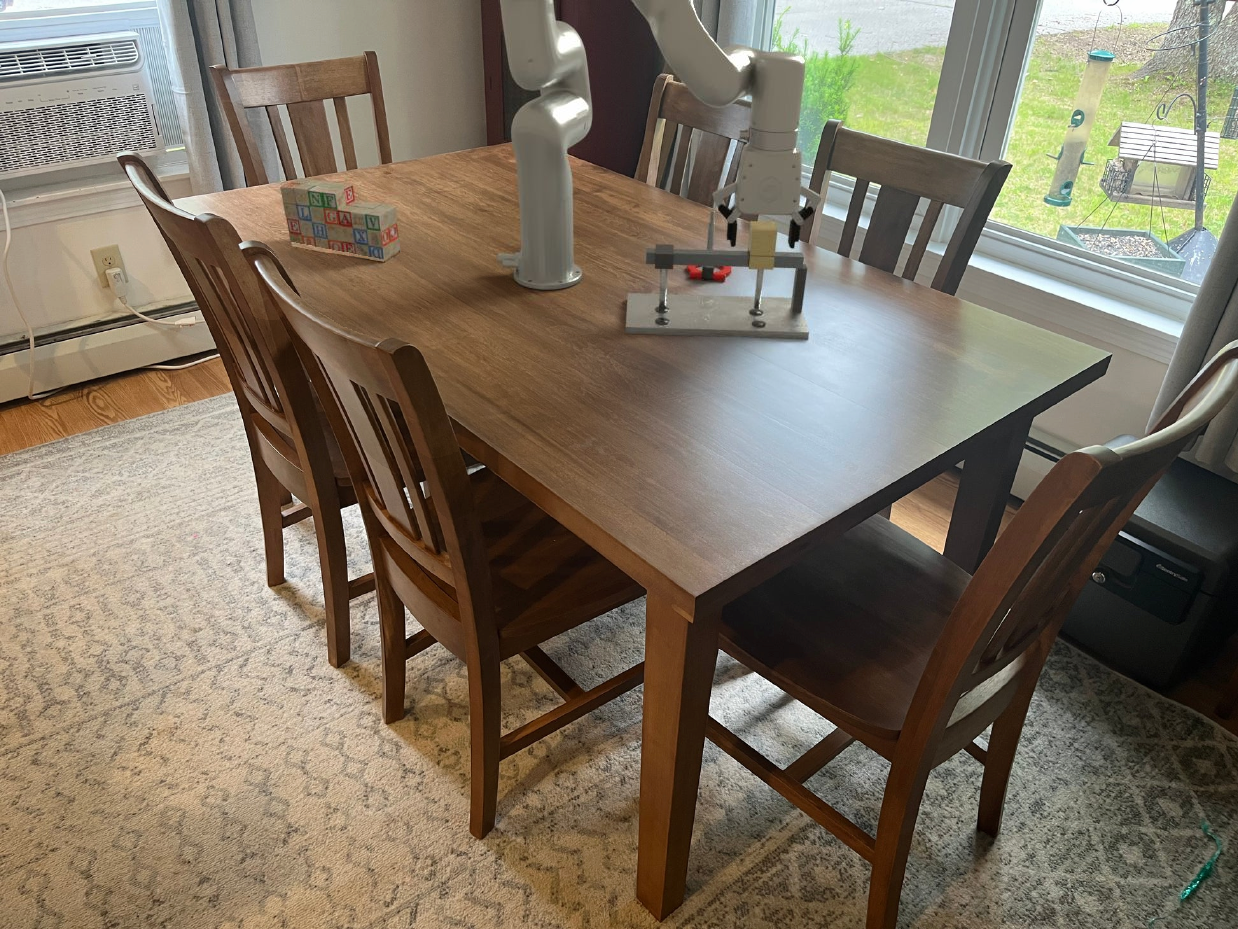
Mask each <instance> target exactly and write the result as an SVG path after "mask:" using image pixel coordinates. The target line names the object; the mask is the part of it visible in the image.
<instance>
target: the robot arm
mask: <svg viewBox="0 0 1238 929" xmlns="http://www.w3.org/2000/svg"><path fill="white" fill-rule="evenodd" d="M630 1H631V2H632V3H633V4H634V6H635V7H636V8H637V10H639V12H640V14H642V15H643V17H644V18H645V20H646V21H647V22H648V24H649V26H650V30H651V32H652V36H653V37H654V39H655V42H656V43H657V46H658V47H659V50H660V52H661V54H662V56H663V58H664V60H665V62H666V63H667V64H668V66H669V67H670V69H671V70H672V71H673V72H674V74H675V75H676V76H677V77H678V79H679V80H680V81H681V82H682V83H683V85H685V87H686V88H687V89H688V90H689V92H690V93H691V94H693V96H694V97H695V98H696V99H697V100H699V101H700V102H702V103H703V104H704V105H706V106H708V107H711V108H717V109H719V108H720V109H721V108H726V107H728V106H730V105H732V104H733V103H735V102H736V101H738V100H739V99H742V98H744V97H745V98H746V97H748V96H750V97H751V103H750V104H751V105H750V114H749V117H750V118H749V124H748V127H747V128H746V129H744V130H742V129H741V130H739V132H738V133H739V134H738V138H739V140H743V141H746V143H747V144H744V145H743V147H742V151H741V155H740V159H739V164H738V168H737V175H736V181H734V182H733V183H730V184H728V185H725V186H724V187H722V188H719V189H717V190H715V191H714V192H712V198H713V201H714V203H715V205H716V208H717V209H718V213H720V214H721V215H722V216H723V217H724V219H725V220H726V221H727V224H726V225H727V227H726V228H727V229H726V230H727V231H726V240H727V241H729V243H730V247H731V248H735V247H736V246H737V234H738V221H737V219H738V218H739V217H740V216H741V215H742V214H745V215H759V216H760V215H763V216H772V215H773V216H790V217H791V219H790V222H789V228H788V238H787V243H788V247H789V248H790V249H795V247H796V246H795V245H796V243H799V241H800V233H801V226H802V225H803V224H804V221H806V220H807V219H808V218H810V216H812V215H813V214H814V212H815V210H816V209H817V207H818V206H819V204H820V203H821V201H822V197H821V195H820V194H819V193H818V192H815V191H814V190H812V189H810V188H809V187H807V186H805V185H803V184H802V176H803V175H802V173H803V158H802V157H803V156H802V150H801V148H800V147H799V146H797V144H798V136H799V134H798V133H799V126H800V119H801V118H800V117H801V109H802V100H803V92H804V83H805V76H806V75H805V74H806V61H805V59H804V57H803V56H802V55H801V54H797V53H796V52H790V51H779V50H777V51H776V50H775V51H766V50H762V49H758V48H754V47H751V46H746V45H741V44H732V45H729V46H726V47H724V48H722V49H721V47H720V46H719V44H717V42H716V41H715V40H714V39H713V37H711V35H710V34H709V32H708V31H707V30H706V29H705V27H704V25H703V24H702V22H701V21H700V18H699V17H698V15H697V12H696V9H695V6H694V0H630ZM499 4H500V11H501V12H500V13H501V20H502V28H503V36H504V40H505V47H506V54H507V62H508V66H509V67H508V68H509V72H510V74H511V77H512V79H513V80H514V82H515V83H516V85H518V86H519V87H520V88H522V89H523V90H526V91H534V92H535V91H540V96H538V97H536V98H534V99H532V100H530V101H528V102H526V103H525V104H524V105H523V106H521V107H520V108H519V109H518V111H517V112H516V113H515V115H514V118H513V120H512V122H511V128H510V129H511V130H510V135H511V137H510V138H511V144H512V148H513V152H514V157H515V163H516V172H517V186H518V187H517V188H518V189H517V190H518V204H519V225H520V226H519V229H520V231H519V232H520V251H519V252H515V253H514V254H511V253H503V252H502V253H501V252H500V253H499V252H498V254H497V264H498V265H502V269H510V268H513V269H514V270H513V279H514V280H515V282H517V284H519V285H521V286H523V287H526V288H529V289H534V290H547V291H549V290H550V291H551V290H561V289H565V288H569V287H572V286H574V285H576V284H577V283H579V282H580V281H581V280H582V277H583V271H582V268H581V267H580V266H578V264H576V263H574V194H573V192H574V191H573V185H574V184H573V175H572V174H573V173H572V170H571V169H572V168H571V165H570V162H569V158H568V149H570V148H571V147H573V146H574V145H576V144H577V143H579V142H580V141H582V140H583V139H584V138H585V137H586V136H587V135H588V133H589V131H590V129H591V127H592V121H593V103H592V95H591V94H592V93H591V88H590V78H589V77H590V76H589V67H588V60H587V55H586V54H587V53H586V49H585V46H584V42H583V40H582V38H581V37H580V35H579V33H578V32H577V30H575V28H574V27H572V26H571V25H570V24H568V23H567V22H565V21H560V20H556V15H555V5H554V0H499ZM733 194H734V202H735V203H734V204H733V205H732V206H731V207H729V206H728V205H726V203H725V201H724V199H725V198H727V197H729V196H731V195H733ZM801 196H802V197H804V198H806V199H807V200H809V202H808V203H807V205H805V206H804V207H803V208H801V210H799V208H800V203H801V202H800V201H801Z"/></svg>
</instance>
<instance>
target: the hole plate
mask: <svg viewBox="0 0 1238 929" xmlns="http://www.w3.org/2000/svg"><path fill="white" fill-rule="evenodd" d="M754 300H755V296H749V295H748V296H747V295H746V296H744V295H743V296H741V295H739V296H738V295H715V294H714V295H712V294H711V295H710V294H709V295H707V294H678V293H676V294H673V293H672V294H671V293H669V294H668V293H666V310H663V311H661V310H659V293H642V292H641V293H640V292H639V293H638V292H637V293H636V292H634V293H633V292H627V300H626V302H627V303H626V317H625V318H626V319H625V334H627V335H628V334H630V335H631V334H632V335H658V336H661V335H663V336H664V335H665V336H669V335H670V336H696V337H724V338H725V337H726V338H727V337H729V338H731V337H733V338H734V337H735V338H758V339H759V338H760V339H761V338H764V339H765V338H767V339H793V338H800V339H799V340H801V338H803V339H802V340H804V339H805V338H807V339H805V340H808V339H809V338H810V337H809V336H810V330H809V327H808V323H807V321H806V318H805V315H804V312H803V310H802V312H792V309H791V302H792V297H784V296H783V297H777V296H774V297H773V296H772V297H771V296H761V300H760V308H759V309H755V308H754Z"/></svg>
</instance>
